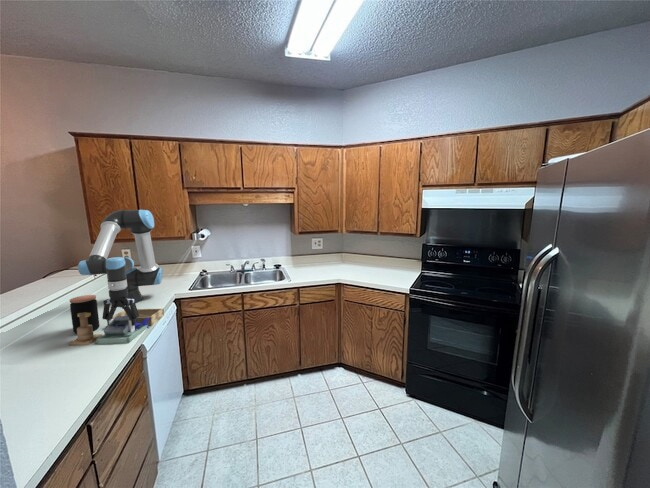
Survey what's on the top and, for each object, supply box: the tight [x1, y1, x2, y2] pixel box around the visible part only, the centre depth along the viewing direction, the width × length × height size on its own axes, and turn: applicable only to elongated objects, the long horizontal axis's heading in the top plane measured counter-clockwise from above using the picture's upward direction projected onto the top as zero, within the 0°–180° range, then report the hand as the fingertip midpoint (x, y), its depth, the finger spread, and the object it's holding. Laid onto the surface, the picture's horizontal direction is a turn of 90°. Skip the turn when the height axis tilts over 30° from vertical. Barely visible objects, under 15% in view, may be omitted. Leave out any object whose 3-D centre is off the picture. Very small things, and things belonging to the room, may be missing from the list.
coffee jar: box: [69, 294, 100, 335], centre depth 145 cm, size 11×11×18 cm
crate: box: [112, 308, 165, 327], centre depth 155 cm, size 13×22×6 cm, turn 93°
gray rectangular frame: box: [103, 315, 136, 336], centre depth 138 cm, size 9×12×3 cm
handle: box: [68, 312, 103, 346], centre depth 134 cm, size 9×9×14 cm
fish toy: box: [117, 318, 150, 330], centre depth 144 cm, size 15×8×7 cm, turn 117°
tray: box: [95, 325, 148, 345], centre depth 140 cm, size 16×15×2 cm
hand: (122, 331), depth 139 cm, fingers closed on gray rectangular frame, 9 cm apart
